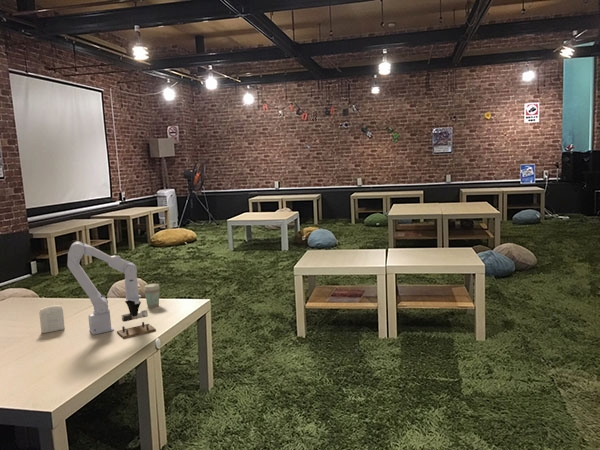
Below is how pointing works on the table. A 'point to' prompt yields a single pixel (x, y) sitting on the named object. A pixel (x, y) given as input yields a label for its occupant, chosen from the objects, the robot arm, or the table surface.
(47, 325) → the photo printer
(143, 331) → the tool board
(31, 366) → the table surface
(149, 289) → the coffee cup
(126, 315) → the lever door handle
